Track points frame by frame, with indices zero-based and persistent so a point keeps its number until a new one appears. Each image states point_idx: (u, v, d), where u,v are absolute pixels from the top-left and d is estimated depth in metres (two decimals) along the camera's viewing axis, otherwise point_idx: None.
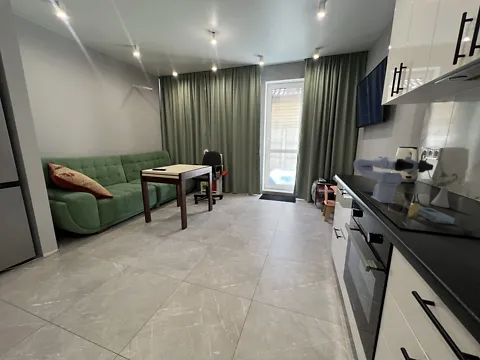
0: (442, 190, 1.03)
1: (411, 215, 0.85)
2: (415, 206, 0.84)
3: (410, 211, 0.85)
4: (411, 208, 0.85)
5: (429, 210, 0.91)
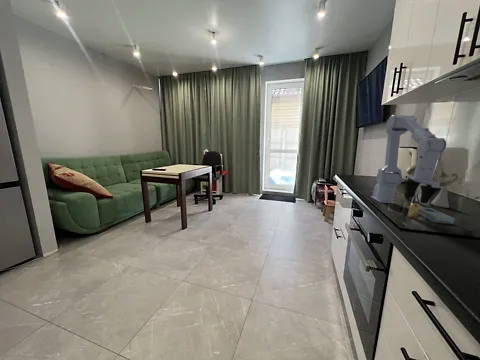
0: (442, 190, 1.03)
1: (411, 215, 0.85)
2: (415, 206, 0.84)
3: (410, 211, 0.85)
4: (411, 208, 0.85)
5: (429, 210, 0.91)
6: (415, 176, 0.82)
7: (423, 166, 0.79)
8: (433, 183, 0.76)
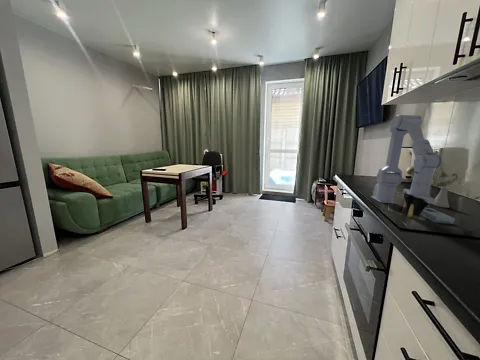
0: (442, 190, 1.03)
1: (411, 215, 0.85)
2: None
3: (410, 211, 0.85)
4: (411, 208, 0.85)
5: (429, 210, 0.91)
6: (411, 191, 0.84)
7: (419, 181, 0.81)
8: (428, 199, 0.77)
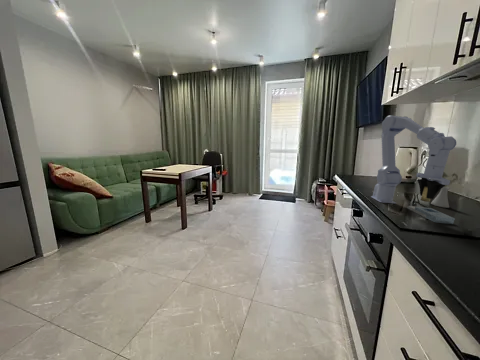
0: (442, 190, 1.03)
1: (424, 198, 0.85)
2: None
3: (424, 194, 0.85)
4: (425, 191, 0.85)
5: (429, 210, 0.91)
6: (425, 174, 0.84)
7: (436, 164, 0.81)
8: (443, 180, 0.77)
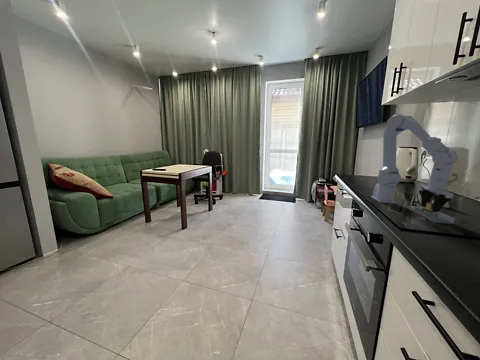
0: None
1: None
2: (432, 204, 0.87)
3: (427, 209, 0.89)
4: (428, 206, 0.88)
5: None
6: (429, 186, 0.87)
7: (442, 178, 0.83)
8: (447, 194, 0.80)
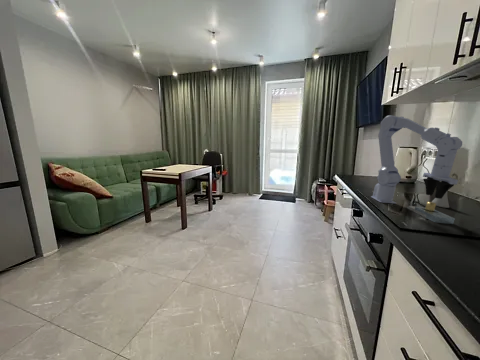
0: None
1: None
2: (432, 204, 0.87)
3: (427, 209, 0.89)
4: (428, 206, 0.88)
5: None
6: (433, 173, 0.86)
7: (446, 164, 0.82)
8: (451, 180, 0.79)
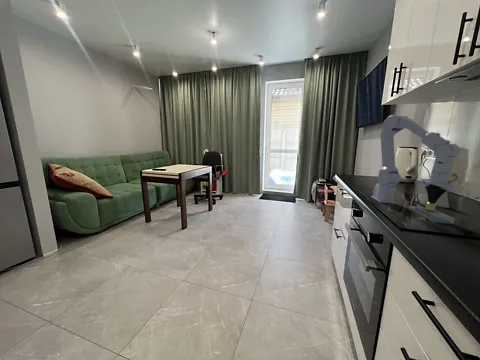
0: None
1: None
2: (432, 204, 0.87)
3: (427, 209, 0.89)
4: (428, 206, 0.88)
5: None
6: (431, 180, 0.86)
7: (444, 171, 0.82)
8: (449, 187, 0.80)
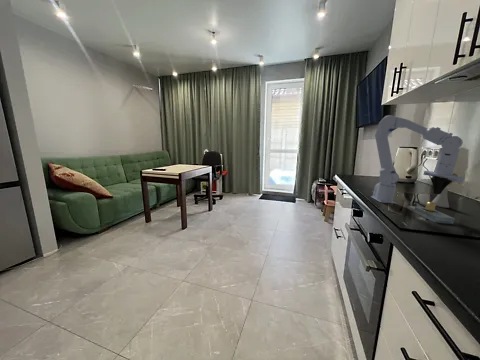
0: None
1: None
2: (432, 204, 0.87)
3: (427, 209, 0.89)
4: (428, 206, 0.88)
5: None
6: (437, 172, 0.88)
7: (451, 163, 0.84)
8: (458, 178, 0.82)
